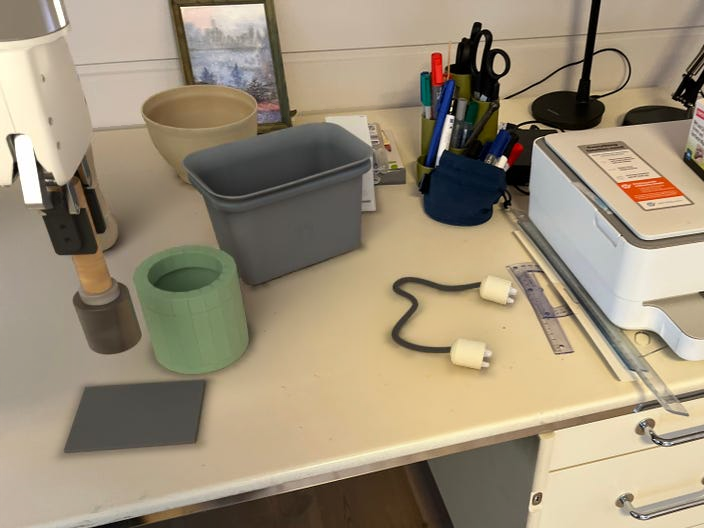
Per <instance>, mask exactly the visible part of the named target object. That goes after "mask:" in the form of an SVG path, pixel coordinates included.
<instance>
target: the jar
mask: <svg viewBox="0 0 704 528" xmlns="http://www.w3.org/2000/svg"><path fill="white" fill-rule="evenodd" d="M132 281H133V284H134V288H135V290H136V295H137V298H138V302H139V305H140V308H141V312H142V316H143V319H144V322H145V326H146V329H147V332H148V336H149V340H150V343H151V346H152V349H153V353H154V357H155V359H156V360H157V362H158V363H159V364H160V365H161V366H162V367H164V368H165V369H167V370H169V371H171V372H174V373H178V374H185V375H203V374H208V373H212V372H216V371H219V370H221V369H224V368H226V367H228V366H230V365H232V364H234V363H236V361H238V360H239V359H240V358H241V357H242V356H243V355H244V354H245V352H246V351H247V349H248V347H249V343H250V337H249V329H248V324H247V318H246V312H245V305H244V302H243V301H244V300H243V295H242V290H241V289H242V288H241V284H240V278H239V274H238V272H237V267H236V264H235V262H234V259H233V258H232V257H231V256H230V255H229V254H227V253H226V252H224V251H222V250H220V248H217V247H214V246H207V245H200V244H191V245H181V246H176V247H169V248H167V249H164V250H161V251H159V252H156V253H154V254H152V255H150V256H149V257H147V258H145V259H144V260H142V261H141V262H140V264H138V266H137V267H136V268H135V270H134V273H133V276H132Z"/></svg>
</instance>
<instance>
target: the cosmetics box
mask: <svg viewBox="0 0 704 528" xmlns="http://www.w3.org/2000/svg"><path fill="white" fill-rule="evenodd" d="M324 122H329V123H334V124H338V125H340V126H342V127H343V128H345V129H346V130H348V131H349V132H351V133H352V134H354V135H355V136H357V137H358V138H359V139H361V140H362V141H364V142H365V143H367V144H368V145H369V146H371V147H372V148H373V142H372V138H371V133H370V129H369V122H368V117H367V115H366V114H351V115H350V114H349V115H329V116H325V117H324ZM373 156H374V154H373V155H372V157H370V160H371V165H372V167H371V169H370V170H369V171H368V172H367V173H365V174H363V181H362V212H375V211H377V208H376V195H375V181H374V180H375V179H374V157H373Z"/></svg>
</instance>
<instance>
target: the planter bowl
mask: <svg viewBox="0 0 704 528" xmlns="http://www.w3.org/2000/svg"><path fill="white" fill-rule="evenodd" d="M140 113H141V117H142V119H143V121H144V123H145V126H146V129H147V133H148V135H149V137H150V139H151V141H152V144H153V145H154V147H155V149H156V150H157V152H158V153H159V154H160V156H161V157H162V158H163V160H165V162H166V163H167V164H168V165H169V166H171V168H172V169H174V170H175V171H176V172H177V175H178V176H179V178H180V180H182V181H183V182H184V183H186V184H189V185H192V184H191V183H190V182H189V180H188V175H187V173H188V172H187V171H186V170H185V169H184V168H183V167H182V164H181V163H182V160H183V158H184V157H186V156H187V155H189V154H190V153H193V152H195V151H199V150H202V149H206V148H210V147H214V146H218V145H222V144H226V143H230V142H234V141H237V140H242V139H245V138H249V137H253V136H258V125H259V123H258V113H259V105H258V102H257V100H256V98H255V97H253V95H251V94H249V93H248V92H246V91H243V90H242V89H238V88H235V87H231V86H227V85H218V84H189V85H181V86H178V87H177V86H175V87H172V88H169V89H165V90H161V91H159V92H157V93H154V94H152V95H150V96H149V97H146V99H145V100H144V101H143V103H142V104H141V105H140Z"/></svg>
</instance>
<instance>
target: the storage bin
mask: <svg viewBox="0 0 704 528" xmlns="http://www.w3.org/2000/svg"><path fill="white" fill-rule="evenodd" d="M374 152H375V151H374V148H373V146H372V147H371V146H369V145H368V144H367V143H365V142H364V141H362V140H361V139H359V138H358V137H357V136H355V135H354V134H352V133H351V132H349V131H348V130H346V129H345V128H343V127H342V126H340V125H338V124H334V123H329V122H325V121H316V122H307V123H303V124H299V125H294V126H290V127H285V128H281V129H278V130H275V131H269V132H267V133H262V134H257V136H253V137H249V138H245V139H242V140H237V141H234V142H230V143H226V144H222V145H218V146H214V147H210V148H206V149H202V150H199V151H195V152H193V153H190V154H189V155H187V156H186V157H184V158H183V160H182V163H181V164H182V167H183V168H184V169H185V170H186V171H187V172H188V173H187V175H188V180H189V182H190V183H191V184H190V185H192V186H193V188H195V189H196V190H197V192H198V193H199V194H200V195H202V198H203V200H204V204H205V207H206V210H207V213H208V217H209V220H210V222H211V226H212V229H213V232H214V235H215V238H216V242H217V245H218V249H220V250H222V251H224V252H226V253H227V254H229V255H230V256H231V257H232V258H233V259H234V262H235V264H236V267H237V272H238V276H239V277H240V278H242V280H243V281H244V282H245V283H246V284H248V285H250V286H251V285H252V286H257V285H260V284H263V283H265V282H268V281H271V280H274V279H277V278H280V277H282V276H284V275H288V274H291V273H293V272H296V271H299V270H301V269H304V268H307V267H309V266H312V265H316V264H318V263H321V262H324V261H326V260H329V259H332V258H334V257H338V256H340V255H343V254H345V253H349V252H351V251H354V250H356V249H358V248H359V247H360V246H361V243H362V212H363V211H362V181H363V174H365V173H367V172H368V171H369V170H370V169H371V167H372V165H371V160H370V157H372V155H373V156H374Z"/></svg>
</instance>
